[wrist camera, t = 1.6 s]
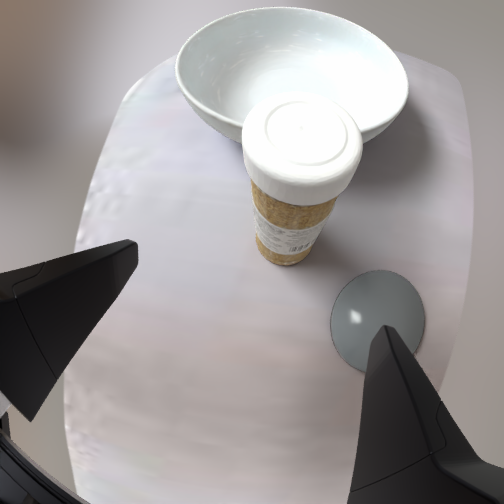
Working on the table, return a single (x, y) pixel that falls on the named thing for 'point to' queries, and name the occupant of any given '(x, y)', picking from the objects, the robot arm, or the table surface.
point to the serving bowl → (289, 67)
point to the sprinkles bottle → (297, 169)
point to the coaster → (375, 314)
